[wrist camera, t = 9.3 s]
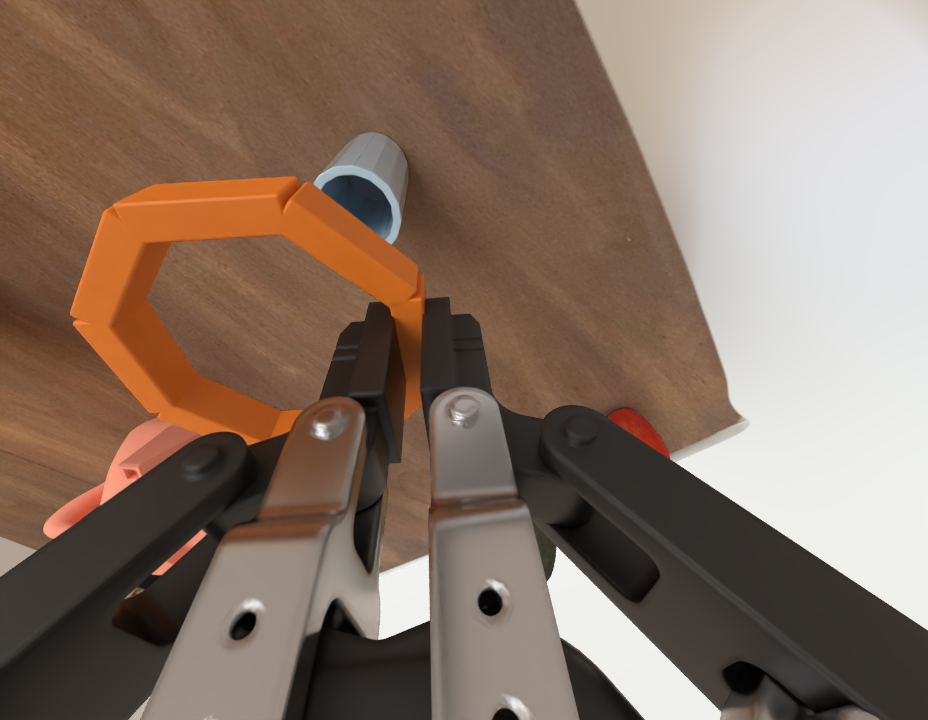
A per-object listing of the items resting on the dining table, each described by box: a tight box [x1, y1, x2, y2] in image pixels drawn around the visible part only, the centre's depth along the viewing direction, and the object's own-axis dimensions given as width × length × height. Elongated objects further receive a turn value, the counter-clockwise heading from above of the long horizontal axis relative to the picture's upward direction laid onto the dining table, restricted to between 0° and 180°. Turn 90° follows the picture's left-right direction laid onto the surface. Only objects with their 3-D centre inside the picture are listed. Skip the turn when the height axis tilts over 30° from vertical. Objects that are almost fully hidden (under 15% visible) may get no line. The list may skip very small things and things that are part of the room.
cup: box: [313, 132, 409, 245], centre depth 21 cm, size 4×4×9 cm
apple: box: [607, 408, 670, 459], centre depth 41 cm, size 6×6×8 cm
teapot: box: [44, 418, 207, 575], centre depth 36 cm, size 16×17×14 cm
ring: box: [70, 176, 426, 445], centre depth 10 cm, size 8×8×1 cm
